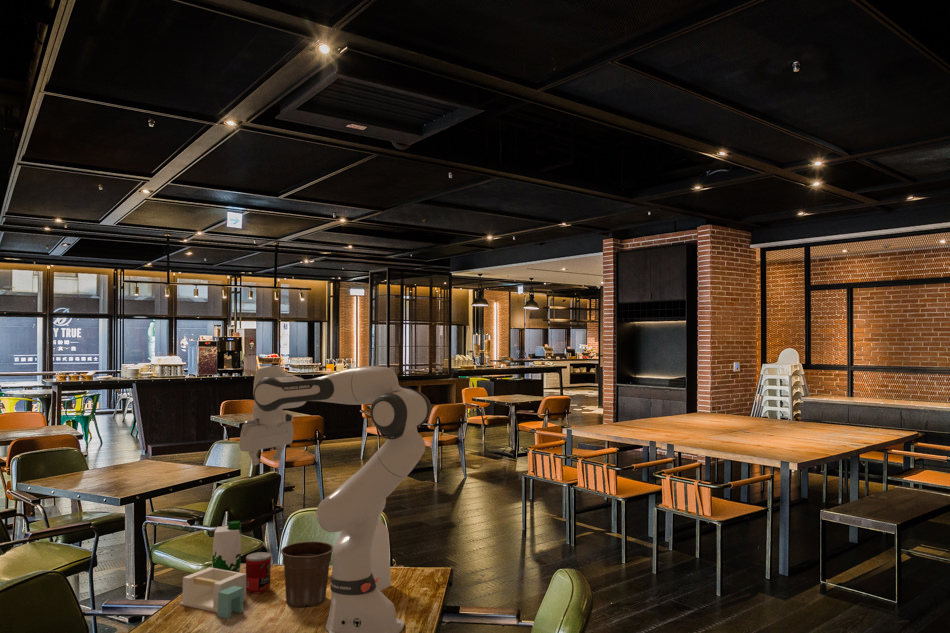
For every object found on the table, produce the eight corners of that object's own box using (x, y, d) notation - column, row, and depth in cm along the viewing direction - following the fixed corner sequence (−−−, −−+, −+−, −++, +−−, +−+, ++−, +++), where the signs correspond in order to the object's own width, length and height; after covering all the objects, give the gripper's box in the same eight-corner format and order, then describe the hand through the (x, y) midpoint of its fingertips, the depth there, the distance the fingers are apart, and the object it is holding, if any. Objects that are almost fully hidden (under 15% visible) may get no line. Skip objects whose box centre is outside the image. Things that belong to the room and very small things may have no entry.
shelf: (245, 599, 202) (246, 573, 203) (217, 612, 192) (218, 585, 192) (208, 592, 209) (209, 567, 209) (179, 604, 198) (180, 578, 199)
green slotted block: (242, 611, 193) (243, 587, 193) (227, 618, 188) (228, 594, 188) (232, 609, 195) (233, 585, 195) (217, 616, 189) (218, 592, 190)
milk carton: (239, 584, 215) (240, 524, 216) (210, 587, 213) (211, 526, 214) (241, 576, 224) (242, 518, 225) (213, 578, 221) (215, 520, 223)
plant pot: (342, 594, 207) (342, 543, 208) (315, 613, 192) (316, 558, 193) (298, 588, 212) (299, 539, 213) (269, 606, 197) (270, 553, 198)
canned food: (262, 594, 207) (263, 559, 207) (240, 592, 208) (241, 558, 209) (274, 586, 214) (275, 552, 215) (253, 584, 216) (253, 551, 216)
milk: (390, 585, 215) (391, 507, 217) (370, 596, 205) (370, 514, 207) (362, 579, 221) (363, 503, 222) (340, 590, 210) (341, 510, 212)
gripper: (251, 421, 188) (249, 468, 187) (297, 415, 206) (296, 458, 206) (234, 420, 190) (233, 466, 190) (281, 414, 209) (280, 457, 208)
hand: (266, 462), depth 198 cm, fingers open, 8 cm apart
